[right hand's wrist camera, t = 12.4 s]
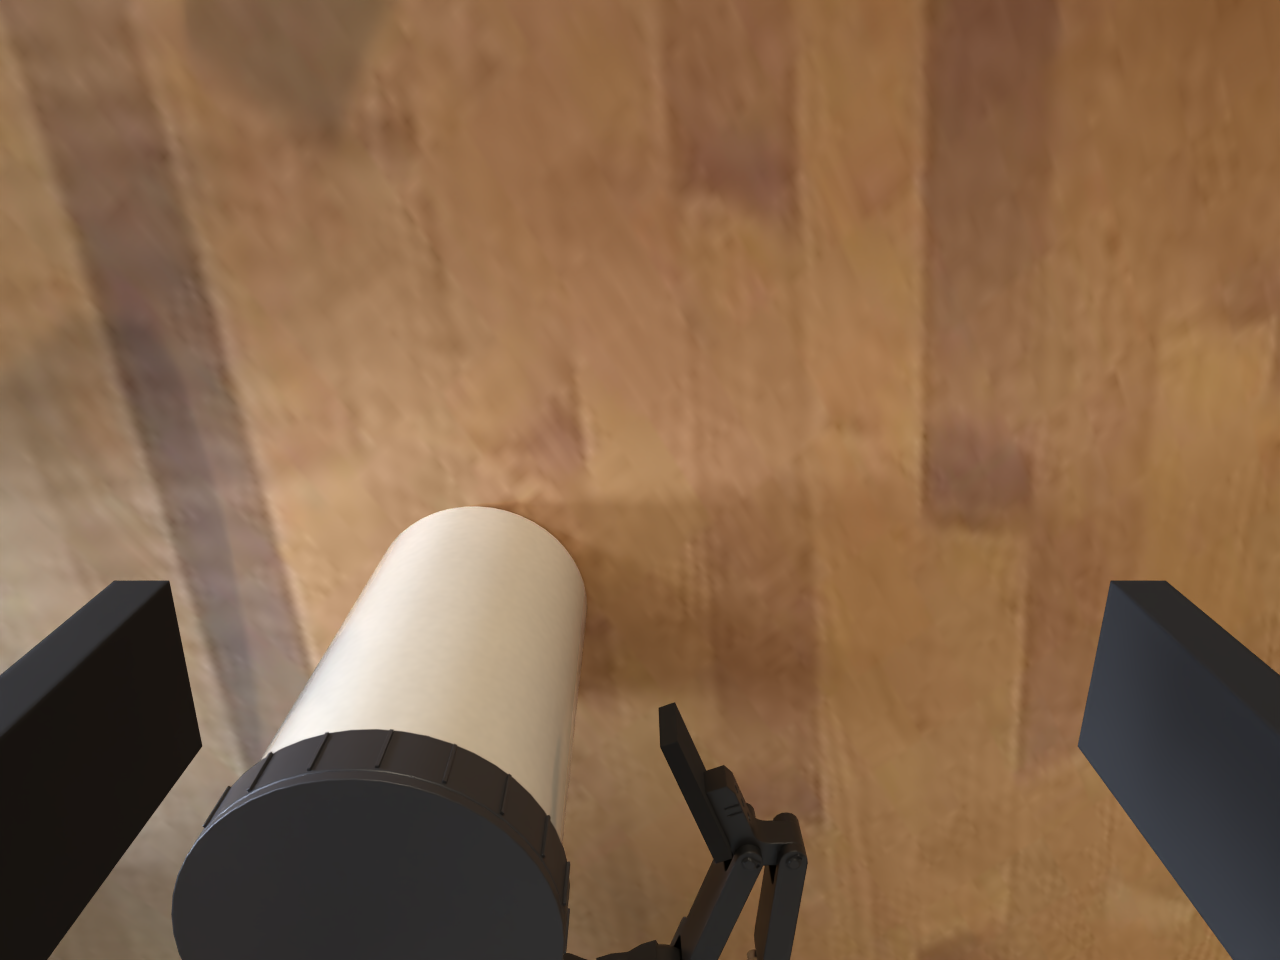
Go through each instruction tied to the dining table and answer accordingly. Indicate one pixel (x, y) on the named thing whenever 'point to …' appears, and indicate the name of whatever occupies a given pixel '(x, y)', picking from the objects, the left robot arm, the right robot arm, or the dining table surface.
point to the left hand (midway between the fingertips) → (519, 773)
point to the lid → (374, 859)
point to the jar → (462, 649)
